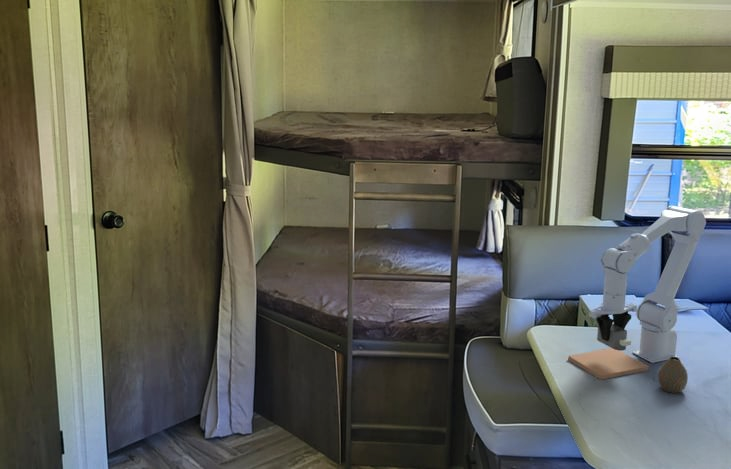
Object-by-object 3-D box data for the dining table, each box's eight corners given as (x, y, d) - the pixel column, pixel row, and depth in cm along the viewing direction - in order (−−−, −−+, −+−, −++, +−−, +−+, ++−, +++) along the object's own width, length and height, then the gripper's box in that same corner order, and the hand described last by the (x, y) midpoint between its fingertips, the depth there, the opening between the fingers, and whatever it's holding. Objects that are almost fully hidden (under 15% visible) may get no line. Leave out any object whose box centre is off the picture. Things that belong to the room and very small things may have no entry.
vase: (674, 398, 166) (677, 366, 164) (651, 387, 172) (654, 356, 170) (692, 392, 169) (695, 360, 167) (669, 381, 175) (672, 350, 173)
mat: (613, 351, 194) (613, 347, 194) (648, 370, 181) (648, 366, 181) (568, 359, 189) (568, 355, 189) (600, 379, 176) (601, 375, 176)
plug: (604, 336, 187) (605, 320, 186) (632, 351, 177) (633, 333, 176) (594, 338, 186) (595, 322, 185) (621, 353, 176) (622, 335, 175)
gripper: (625, 284, 185) (621, 329, 188) (583, 291, 180) (580, 337, 183) (643, 292, 179) (639, 338, 182) (600, 298, 174) (597, 346, 177)
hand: (611, 338), depth 182 cm, fingers closed on plug, 4 cm apart
